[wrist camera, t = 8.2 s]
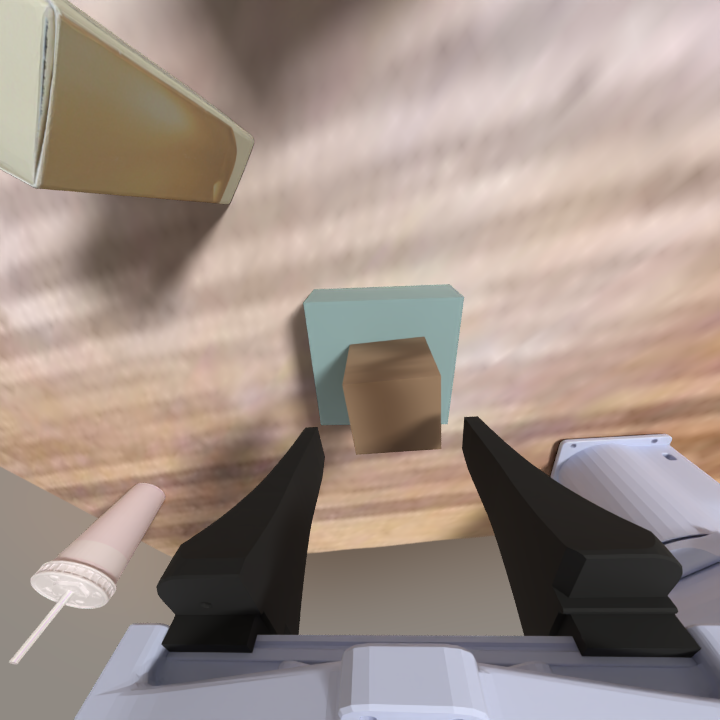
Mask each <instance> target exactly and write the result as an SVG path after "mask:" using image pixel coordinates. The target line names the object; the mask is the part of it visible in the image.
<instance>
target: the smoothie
mask: <svg viewBox="0 0 720 720" xmlns="http://www.w3.org/2000/svg"><path fill="white" fill-rule="evenodd" d="M164 500H165V494H164V492H163V491H162V490H161V489H160V488H158V487H157V486H155V485H152V484H149V483H138V484H136V485H134V486H133V487H132V488H131V489H130V490H129V491H128V492H127V493H126V494H125V495H124V496H122V497H121V498H120V499H119V500H118V501H117V502H116V503H115V504H114V505H113V506H111V507H110V508H109V509H108V510H107V511H106V512H105V513H104V514H103V515H102V516H101V517H99V518H98V519H97V520H96V521H95V522H94V523H93V524H92V525H91V526H90V527H88V529H86V530H85V531H84V532H83V533H82V534H81V535H80V536H79V537H77V538H76V539H75V540H74V541H73V542H72V543H71V544H70V545H69V546H68V547H66V549H64V550H63V551H62V552H61V553H60V554H59V555H58V556H57V557H56V558H55V559H54V560H52V561H49V562H46V563H44V564H43V565H42V566H41V568H40V569H39V570H38V571H37V572H36V573H35V574H34V575H33V576H32V577H31V585H32V587H33V588H34V589H35V590H36V591H37V592H38V593H39V594H41V595H42V596H44V597H46V598H48V599H50V600H52V601H55V602H57V604H56V605H55V606H54V607H53V609H52V610H51V611H50V612H49V613H48V615H47V616H46V617H45V618H44V620H43V621H42V622H41V623H40V625H39V626H38V627H37V628H36V629H35V631H34V632H33V633H32V634H31V636H30V637H29V638H28V639H27V640H26V642H25V643H24V644H23V645H22V647H21V648H20V649H19V650H18V651H17V653H16V654H15V655H14V656H13V657H12V659H11V660H10V661H9V663H11V664H18V663H19V661H20V660H21V659H22V657H23V656H24V655H25V654H26V652H27V651H28V650H29V649H30V647H31V646H32V645H33V643H34V642H35V641H36V640H37V639H38V637H39V636H40V635H41V634H42V632H43V631H44V630H45V629H46V627H47V626H48V625H49V624H50V622H51V621H52V620H53V619H54V617H55V616H56V615H57V613H58V612H59V611H60V610H61V608H62V607H63V606H64V605H67V606H71V607H76V608H83V609H92V608H98V607H102V606H104V605H105V604H106V603H107V602H108V601H109V599H110V598H111V596H112V595H113V594H114V593H115V592H116V583H117V581H118V579H119V578H120V576H121V574H122V573H123V571H124V569H125V568H126V566H127V564H128V562H129V561H130V559H131V557H132V555H133V554H134V552H135V550H136V548H137V547H138V545H139V543H140V542H141V540H142V538H143V536H144V535H145V533H146V531H147V529H148V528H149V526H150V524H151V522H152V521H153V519H154V517H155V515H156V514H157V512H158V510H159V509H160V507H161V505H162V503H163V502H164Z"/></svg>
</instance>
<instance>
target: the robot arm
mask: <svg viewBox="0 0 720 720" xmlns="http://www.w3.org/2000/svg"><path fill="white" fill-rule="evenodd" d="M671 441H672V437H670V436H669V435H668V434H655V435H638V436H620V437H603V438H586V439H569V440H563V441H562V442H561V443H560V445H559V449H558V452H557V456H556V459H555V463H554V466H553V470H552V473H551V477H549V476H548V475H546V474H545V473H544V472H542V471H541V470H539V469H538V468H536V467H535V466H534V465H532V464H531V463H530V462H528V461H527V460H526V459H525V458H523V457H522V456H521V455H520V454H518V453H517V452H516V451H515V450H514V449H513V448H511V447H510V446H509V445H508V444H507V443H506V442H504V441H503V440H502V439H501V438H500V437H499V436H498V435H497V434H496V433H495V432H494V431H492V430H491V429H490V428H489V427H488V426H487V425H486V424H485V423H484V422H483V421H482V420H481V419H480V418H479V417H478V416H477V417H464V430H463V444H462V450H463V454H464V457H465V461H466V464H467V467H468V470H469V473H470V475H471V477H472V480H473V482H474V484H475V487H476V489H477V491H478V494H479V496H480V498H481V501H482V503H483V505H484V508H485V510H486V512H487V514H488V517H489V520H490V522H491V525H492V528H493V531H494V534H495V537H496V540H497V543H498V546H499V549H500V552H501V556H502V559H503V562H504V565H505V569H506V572H507V575H508V579H509V582H510V586H511V589H512V593H513V596H514V600H515V603H516V607H517V610H518V614H519V618H520V621H521V625H522V629H523V633H524V636H422V635H421V636H420V635H419V636H418V635H416V636H415V635H414V636H413V635H399V636H398V635H298V634H299V621H300V610H301V601H302V591H303V582H304V573H305V565H306V557H307V549H308V542H309V535H310V529H311V524H312V519H313V515H314V511H315V506H316V502H317V498H318V494H319V489H320V485H321V481H322V476H323V468H324V458H325V456H324V452H323V448H322V444H321V440H320V435H319V431H318V427H310V428H305V429H304V430H303V432H302V433H301V434H300V436H299V437H298V438H297V440H296V441H295V443H294V444H293V445H292V446H291V448H290V449H289V450H288V452H287V453H286V454H285V455H284V457H283V458H282V459H281V460H280V462H279V463H278V464H277V465H276V466H275V467H274V469H273V470H272V471H271V472H270V473H269V474H268V475H267V476H266V478H265V479H264V480H263V481H262V482H261V483H260V484H259V485H258V486H257V487H256V488H255V489H254V490H253V491H252V492H251V493H250V494H248V495H247V496H246V497H245V498H244V499H243V500H241V501H240V502H239V503H238V504H237V505H236V506H235V507H233V508H232V509H231V510H230V511H228V512H227V513H226V514H225V515H223V516H222V517H221V518H219V519H218V520H217V521H215V522H214V523H213V524H211V525H210V526H208V527H207V528H206V529H204V530H203V531H201V532H200V533H198V534H197V535H195V536H194V537H192V538H191V539H189V540H188V541H186V542H185V543H183V544H181V546H180V547H179V549H178V550H177V552H176V553H175V555H174V557H173V558H172V560H171V562H170V564H169V565H168V567H167V569H166V571H165V572H164V574H163V576H162V577H161V579H160V581H159V583H158V585H157V592H158V595H159V597H160V598H161V599H162V600H163V602H165V604H166V605H167V606H168V607H169V608H170V609H171V610H172V611H173V612H174V613H175V617H174V620H173V622H172V624H171V626H168V625H166V624H161V623H133V624H131V625H130V626H129V628H128V629H127V631H126V633H125V635H124V636H123V638H122V640H121V641H120V643H119V644H118V646H117V648H116V649H115V651H114V653H113V655H112V656H111V658H110V660H109V661H108V663H107V665H106V666H105V668H104V670H103V671H102V673H101V675H100V676H99V678H98V680H97V681H96V683H95V685H94V686H93V688H92V690H91V691H90V693H89V695H88V696H87V698H86V700H85V701H84V703H83V705H82V707H81V708H80V710H79V711H78V713H77V715H76V717H75V718H74V720H720V484H719V483H718V482H717V481H715V480H714V479H713V478H712V477H710V476H709V475H708V474H706V473H705V472H704V471H702V470H701V469H700V468H698V467H697V466H696V465H694V464H693V463H692V462H691V461H689V460H688V459H687V458H685V457H684V456H683V455H681V454H680V453H679V452H677V451H676V450H675V449H674V448H672V447H671V446H670V445H669V444H670V442H671Z"/></svg>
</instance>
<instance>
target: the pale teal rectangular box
mask: <svg viewBox="0 0 720 720" xmlns="http://www.w3.org/2000/svg"><path fill="white" fill-rule="evenodd" d="M463 301H464V297H463V296H462V295H461V294H460V293H459V292H458V291H456V290H455V289H454V288H453V287H452V286H451V285H449V284H448V285H421V286H394V287H368V288H341V289H315V290H313V291H312V293H311V294H310V295H309V296H308V298H307V299H306V300H305V301H304V303H303V304H304V311H305V317H306V324H307V331H308V338H309V345H310V352H311V359H312V366H313V373H314V380H315V387H316V394H317V401H318V408H319V415H320V422H321V425H350V421H349V416H348V411H347V406H346V401H345V396H344V391H343V386H342V384H343V379H344V373H345V368H346V362H347V357H348V351H349V346H350V344H360V343H369V342H378V341H387V340H396V339H406V338H415V337H425V339H426V341H427V344H428V346H429V348H430V351H431V353H432V356H433V358H434V360H435V363H436V365H437V367H438V370H439V372H440V374H441V424H448V416H449V409H450V401H451V393H452V386H453V378H454V370H455V363H456V355H457V347H458V340H459V332H460V324H461V317H462V309H463Z"/></svg>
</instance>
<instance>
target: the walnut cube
mask: <svg viewBox="0 0 720 720" xmlns="http://www.w3.org/2000/svg"><path fill="white" fill-rule="evenodd" d="M342 386H343V391H344V396H345V401H346V406H347V411H348V416H349V421H350V426H351V431H352V436H353V441H354V446H355V451H356V455H358V454H372V453H387V452H402V451H417V450H432V449H441V374H440V372H439V370H438V367H437V365H436V363H435V360H434V358H433V356H432V353H431V351H430V348H429V346H428V344H427V341H426V339H425V337H415V338H406V339H396V340H387V341H378V342H369V343H360V344H350V346H349V351H348V357H347V362H346V368H345V373H344V379H343V384H342Z"/></svg>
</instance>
